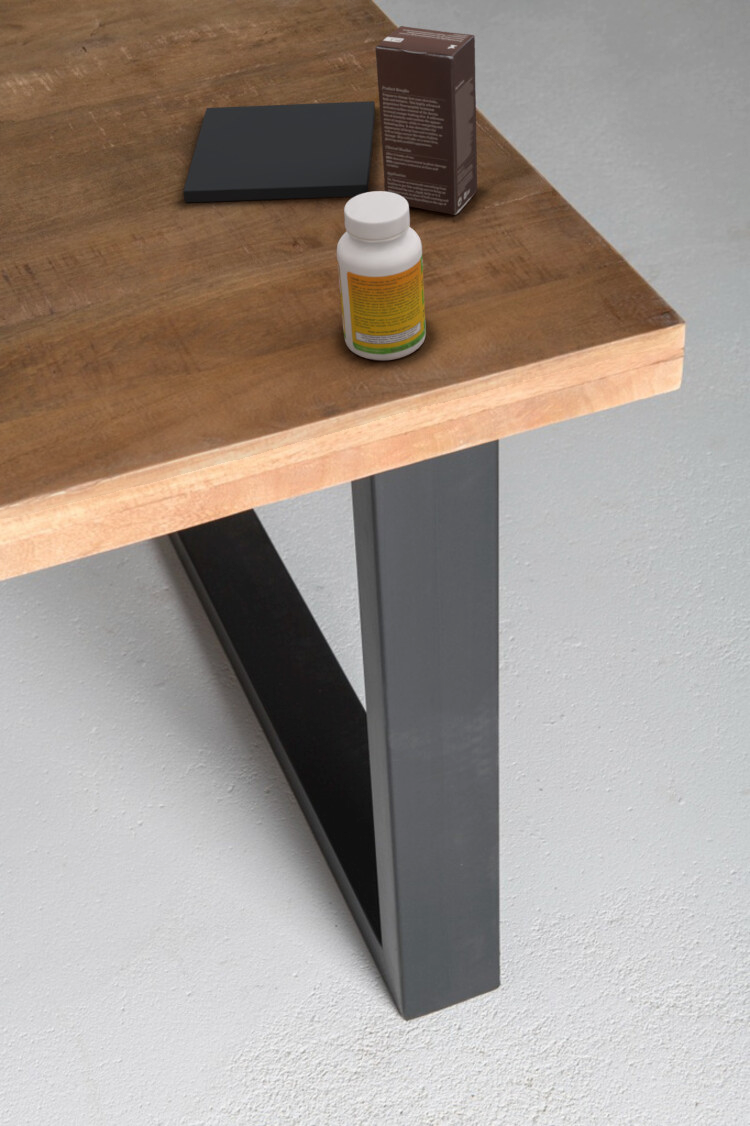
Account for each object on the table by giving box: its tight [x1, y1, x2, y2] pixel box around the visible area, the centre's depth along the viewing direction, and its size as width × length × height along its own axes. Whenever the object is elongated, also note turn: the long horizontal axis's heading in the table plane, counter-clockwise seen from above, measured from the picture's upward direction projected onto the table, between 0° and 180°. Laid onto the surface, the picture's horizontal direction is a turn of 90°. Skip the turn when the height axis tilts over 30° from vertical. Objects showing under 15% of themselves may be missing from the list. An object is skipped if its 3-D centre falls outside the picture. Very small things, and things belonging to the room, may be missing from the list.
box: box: [374, 25, 478, 216], centre depth 102 cm, size 6×4×12 cm
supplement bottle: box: [336, 190, 427, 361], centre depth 89 cm, size 5×5×10 cm
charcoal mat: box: [182, 100, 376, 203], centre depth 112 cm, size 14×14×1 cm
